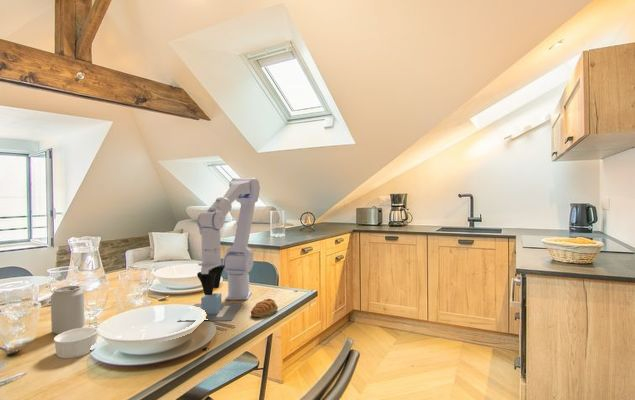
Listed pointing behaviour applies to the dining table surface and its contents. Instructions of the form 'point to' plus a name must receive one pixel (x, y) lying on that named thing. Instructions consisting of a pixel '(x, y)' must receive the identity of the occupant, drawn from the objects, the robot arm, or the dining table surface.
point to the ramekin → (75, 342)
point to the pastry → (264, 308)
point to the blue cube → (211, 303)
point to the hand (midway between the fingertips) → (212, 291)
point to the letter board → (224, 312)
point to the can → (67, 309)
